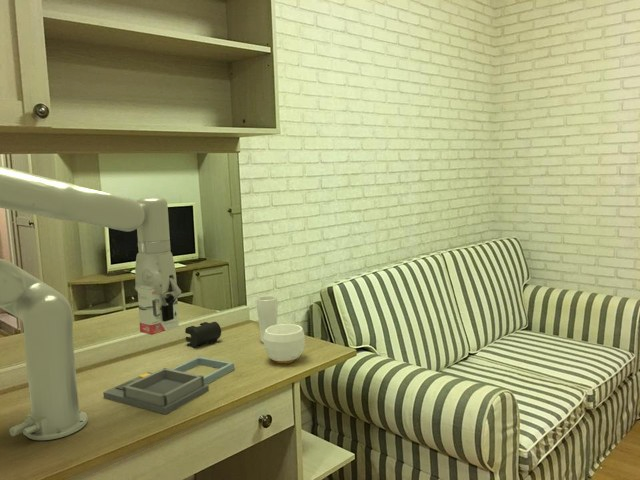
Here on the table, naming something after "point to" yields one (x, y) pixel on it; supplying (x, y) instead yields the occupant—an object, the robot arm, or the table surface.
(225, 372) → the blue-grey square frame
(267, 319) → the drinking glass
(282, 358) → the cup
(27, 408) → the table surface
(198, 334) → the end cap
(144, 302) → the ink box
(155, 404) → the dock
